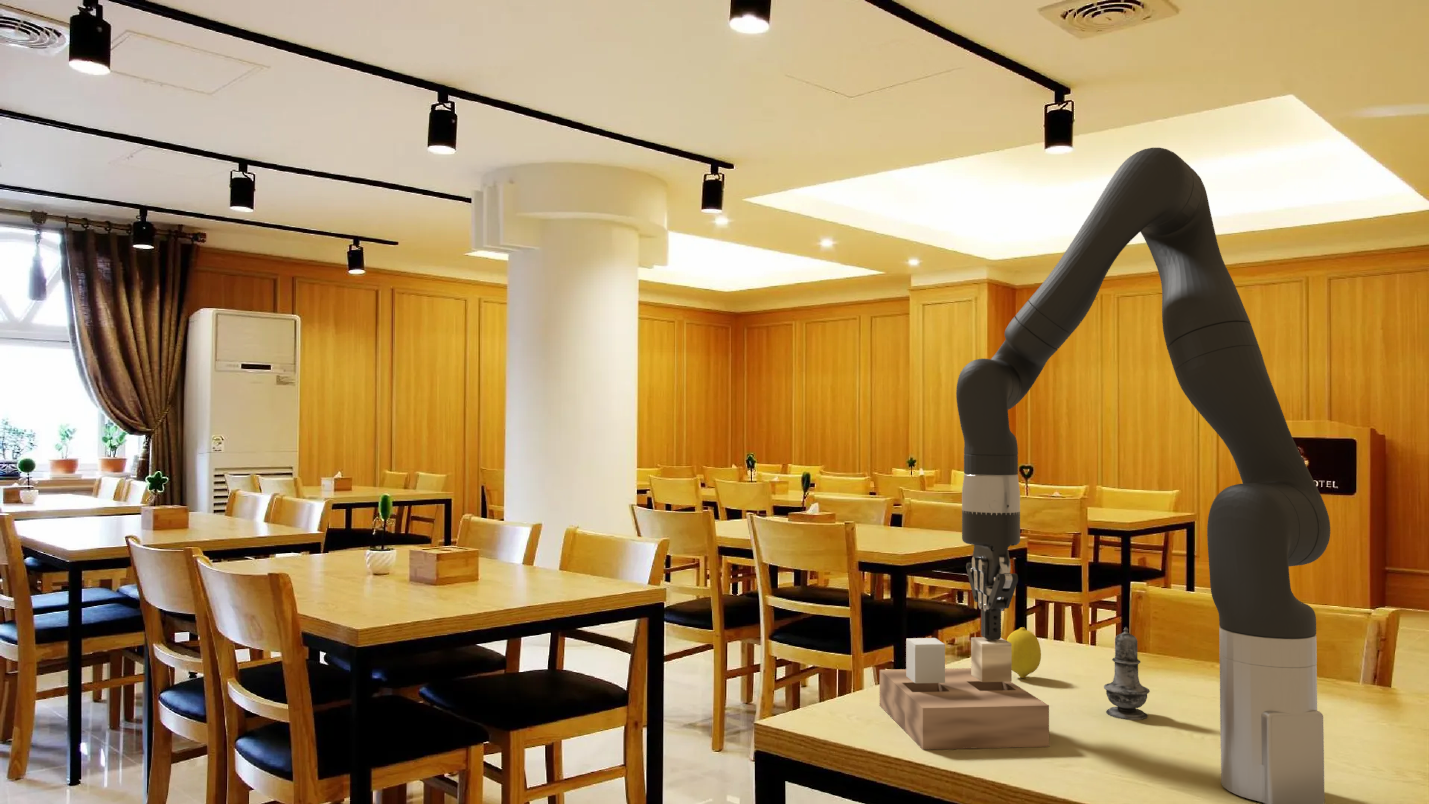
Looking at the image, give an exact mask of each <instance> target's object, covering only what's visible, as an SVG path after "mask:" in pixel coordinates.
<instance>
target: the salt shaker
mask: <svg viewBox="0 0 1429 804" xmlns="http://www.w3.org/2000/svg"><path fill="white" fill-rule="evenodd" d="M1123 628H1124V629H1123V632H1122V633H1119V634H1117V635H1116V636H1115V638H1114V651H1115V652H1114V657H1113V658H1112V659H1111V661H1113V662H1114V676H1113V679H1112V681H1111V682H1110V683H1109V682H1108V683H1106V684H1104V685H1103V689H1104V690H1105V691H1106V693H1105V694H1106V697H1107V699H1108V701H1109V702H1110V703H1111V704H1112V705H1114V706H1112V707H1110V708H1108V709H1106V711H1105V713H1106V714H1107V715H1108V716H1110V717H1113V718H1116V719H1122V720H1131V721H1138V720H1145V719H1147V718H1148V717H1149V716H1148V714H1147V713H1146V712H1145V711H1144V710H1141V709H1139V708H1141V707H1142V706H1143V705H1144V704H1146V701H1147V699H1148V694H1150V692H1151V691H1150V689H1149V688H1148V687H1146V686H1143V685H1142V683H1141V682H1140V678H1139V664H1140V663H1141V660H1140V659H1138V638H1137V637H1136V636H1135V635H1133V634H1131V633H1130V632H1129V628H1128V627H1127V626H1125V627H1123Z"/></svg>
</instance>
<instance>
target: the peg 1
mask: <svg viewBox="0 0 1429 804" xmlns="http://www.w3.org/2000/svg"><path fill="white" fill-rule="evenodd" d="M905 644H906V645H905V647H906V648H905V652H906V653H905V654H906V655H905V656H906V657H905V662H906V663H905V667H906V668H905V669H906V676H907V677H908V678H909V679H911V680H912V681H913V682H914V683H945V669H946V644H945V642H942V641H940V640H939V639H938V638H936V637H924V638H923V637H917V638H916V637H913V638H906V641H905Z"/></svg>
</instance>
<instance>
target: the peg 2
mask: <svg viewBox="0 0 1429 804" xmlns="http://www.w3.org/2000/svg"><path fill="white" fill-rule="evenodd" d="M1006 640H1007V639H1004V638H1002V637H1001V638H1000V639H998V640H988V639H986V638H984V637H982V636H981V637H970V643H971V644H970V647H971V648H970V657H971V658H970V660H971V661H970V663H971V664H970V665H971V666H970V668H971V675H972V676H974V677H975V678H977V679H978V680H980V681H981V682H1012V683H1013V681H1012V672H1013V671H1012V661H1011V643H1010V642H1008V641H1006Z"/></svg>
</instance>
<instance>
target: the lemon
mask: <svg viewBox="0 0 1429 804" xmlns="http://www.w3.org/2000/svg"><path fill="white" fill-rule="evenodd" d="M1005 640H1006V641H1008V642H1010V643H1011V661H1012V672H1014V673H1015V674H1017V675H1018V676H1019V678H1021V679H1025V678H1026V677H1027V676H1028V675H1030V674H1032V673H1034V672H1035V671H1036V670H1037V669H1038V668H1039V666H1040V663H1041V659H1042V650H1041V645H1040V642H1039V639H1038V638H1037V636H1036V635H1035V634H1034V633H1033V632H1031V631H1030V630H1027V628H1025V627H1023V626H1022V627H1019V628H1018V629H1016V630H1013V631H1012V632H1011V633H1009V635H1008V636H1007V638H1006V639H1005Z"/></svg>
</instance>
